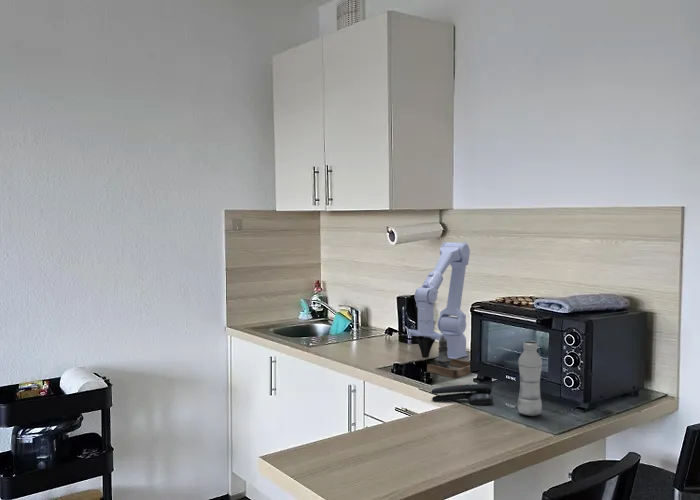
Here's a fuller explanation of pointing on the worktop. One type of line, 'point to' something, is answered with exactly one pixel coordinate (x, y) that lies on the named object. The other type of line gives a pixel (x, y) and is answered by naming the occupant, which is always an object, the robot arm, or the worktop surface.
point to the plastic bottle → (530, 380)
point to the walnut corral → (463, 369)
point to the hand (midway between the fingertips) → (425, 357)
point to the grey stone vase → (443, 354)
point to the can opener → (476, 398)
